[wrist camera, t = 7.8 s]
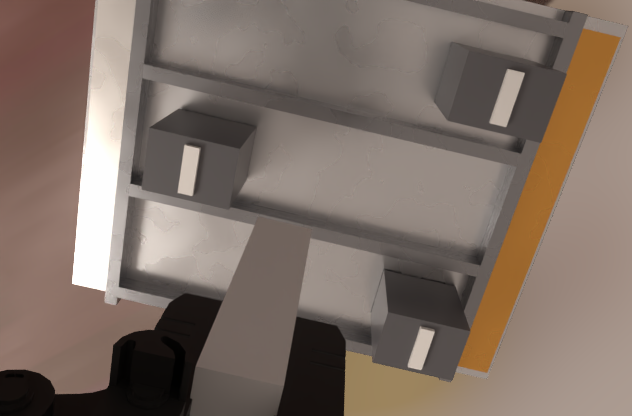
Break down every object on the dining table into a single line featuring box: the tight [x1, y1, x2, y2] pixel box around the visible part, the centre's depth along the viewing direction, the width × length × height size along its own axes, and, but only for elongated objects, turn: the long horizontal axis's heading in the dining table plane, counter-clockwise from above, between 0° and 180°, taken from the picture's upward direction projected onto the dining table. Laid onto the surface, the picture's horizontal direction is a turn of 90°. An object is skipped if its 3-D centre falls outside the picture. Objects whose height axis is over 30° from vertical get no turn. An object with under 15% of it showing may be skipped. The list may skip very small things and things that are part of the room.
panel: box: [72, 0, 628, 382], centre depth 27 cm, size 18×22×2 cm
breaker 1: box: [371, 270, 471, 381], centre depth 27 cm, size 3×4×4 cm
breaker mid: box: [142, 109, 257, 210], centre depth 25 cm, size 3×4×4 cm
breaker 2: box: [434, 42, 567, 143], centre depth 23 cm, size 3×4×4 cm
